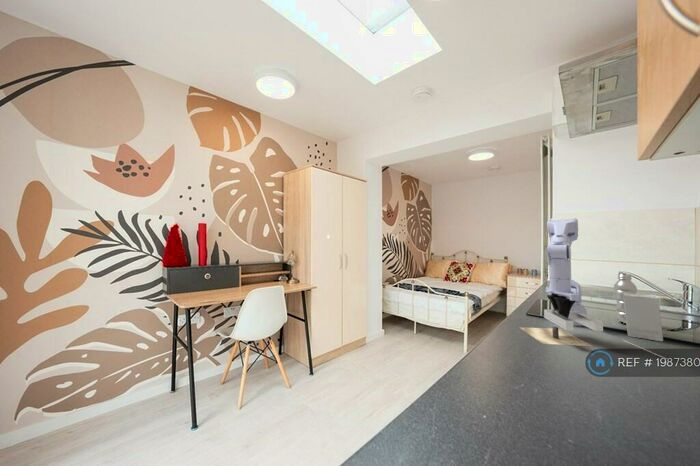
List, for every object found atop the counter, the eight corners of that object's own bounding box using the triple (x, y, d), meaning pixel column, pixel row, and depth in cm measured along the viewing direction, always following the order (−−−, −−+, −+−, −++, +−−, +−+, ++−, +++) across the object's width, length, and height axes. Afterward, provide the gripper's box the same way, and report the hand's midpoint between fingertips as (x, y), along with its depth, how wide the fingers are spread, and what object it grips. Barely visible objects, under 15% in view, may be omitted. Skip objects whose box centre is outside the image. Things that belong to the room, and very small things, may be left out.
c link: (575, 318, 89) (575, 310, 89) (603, 331, 77) (602, 321, 77) (544, 317, 91) (543, 309, 91) (566, 330, 79) (565, 320, 79)
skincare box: (661, 337, 88) (658, 294, 88) (663, 342, 83) (660, 297, 84) (625, 331, 94) (623, 291, 94) (626, 336, 89) (623, 294, 90)
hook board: (559, 331, 95) (559, 319, 95) (593, 349, 79) (592, 334, 79) (519, 330, 97) (518, 318, 97) (543, 347, 81) (542, 332, 81)
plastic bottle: (645, 326, 98) (642, 275, 99) (624, 326, 100) (621, 275, 100) (630, 321, 105) (627, 273, 105) (611, 321, 106) (608, 273, 107)
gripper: (536, 275, 98) (537, 310, 97) (560, 281, 83) (562, 322, 83) (556, 275, 96) (558, 311, 96) (584, 281, 82) (586, 323, 81)
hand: (561, 316), depth 89 cm, fingers closed on c link, 2 cm apart
